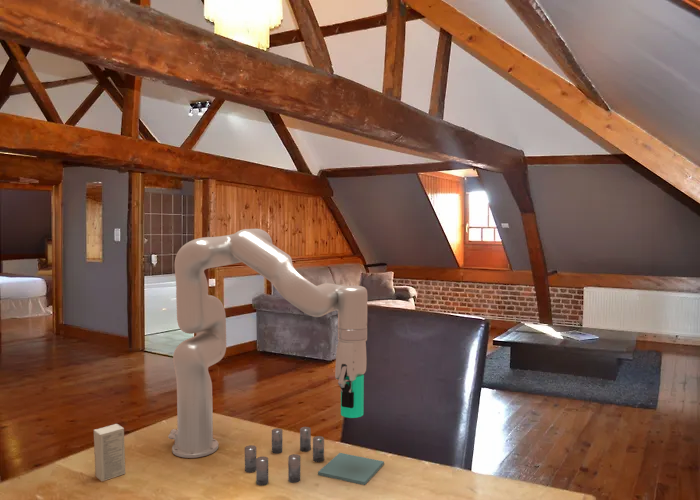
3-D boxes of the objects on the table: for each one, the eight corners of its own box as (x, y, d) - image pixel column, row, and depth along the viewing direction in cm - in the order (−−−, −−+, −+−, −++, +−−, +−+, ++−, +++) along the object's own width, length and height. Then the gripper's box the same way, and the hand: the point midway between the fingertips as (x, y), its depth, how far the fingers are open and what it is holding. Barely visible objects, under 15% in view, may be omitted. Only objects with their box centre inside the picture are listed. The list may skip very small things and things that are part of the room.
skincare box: (118, 468, 151) (117, 423, 150) (126, 474, 147) (125, 427, 147) (93, 476, 146) (92, 429, 145) (100, 482, 143) (99, 434, 142)
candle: (361, 418, 146) (361, 372, 146) (338, 417, 148) (338, 370, 147) (365, 410, 152) (365, 365, 151) (343, 409, 153) (343, 364, 153)
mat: (317, 475, 148) (317, 471, 148) (339, 455, 159) (339, 452, 159) (364, 485, 142) (364, 482, 142) (383, 464, 154) (384, 461, 154)
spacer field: (231, 478, 145) (231, 455, 145) (283, 442, 168) (283, 422, 168) (287, 491, 139) (287, 467, 138) (333, 452, 161) (333, 431, 161)
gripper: (352, 326, 158) (352, 392, 159) (324, 339, 142) (324, 411, 144) (378, 329, 155) (377, 396, 156) (352, 342, 139) (351, 416, 140)
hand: (352, 403), depth 150 cm, fingers closed on candle, 4 cm apart
